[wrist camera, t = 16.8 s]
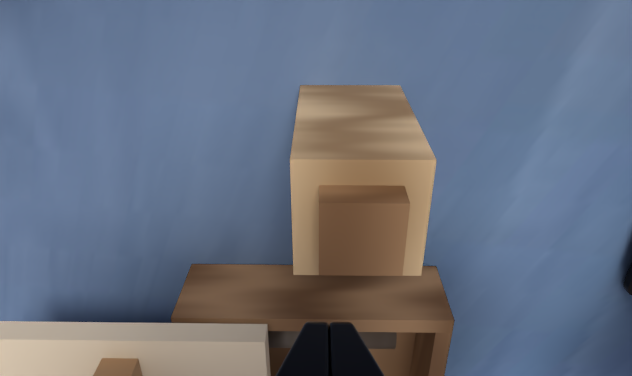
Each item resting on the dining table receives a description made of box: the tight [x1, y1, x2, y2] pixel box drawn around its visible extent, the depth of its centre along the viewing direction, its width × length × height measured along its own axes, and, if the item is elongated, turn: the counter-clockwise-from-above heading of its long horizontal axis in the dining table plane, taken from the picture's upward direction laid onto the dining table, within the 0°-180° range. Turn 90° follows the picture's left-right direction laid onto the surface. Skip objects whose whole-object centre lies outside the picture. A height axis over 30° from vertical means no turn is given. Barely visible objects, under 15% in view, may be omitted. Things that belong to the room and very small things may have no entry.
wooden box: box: [171, 264, 454, 376], centre depth 24 cm, size 12×10×4 cm
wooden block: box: [290, 85, 436, 276], centre depth 17 cm, size 4×4×8 cm
